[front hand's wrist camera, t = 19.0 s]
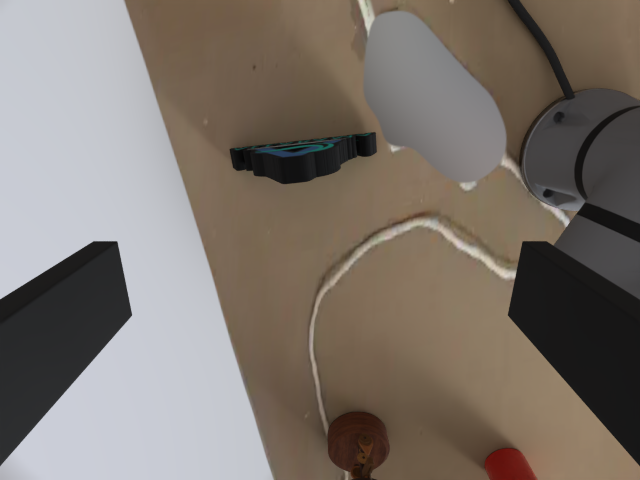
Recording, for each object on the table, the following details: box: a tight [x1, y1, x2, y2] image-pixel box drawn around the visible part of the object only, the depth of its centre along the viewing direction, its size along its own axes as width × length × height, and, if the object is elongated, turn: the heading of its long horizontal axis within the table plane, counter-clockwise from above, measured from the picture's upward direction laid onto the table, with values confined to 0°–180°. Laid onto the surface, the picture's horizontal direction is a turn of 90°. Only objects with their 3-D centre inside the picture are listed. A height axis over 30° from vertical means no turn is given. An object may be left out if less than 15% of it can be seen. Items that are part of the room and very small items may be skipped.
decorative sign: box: [230, 132, 377, 184], centre depth 42 cm, size 19×2×15 cm, turn 96°
